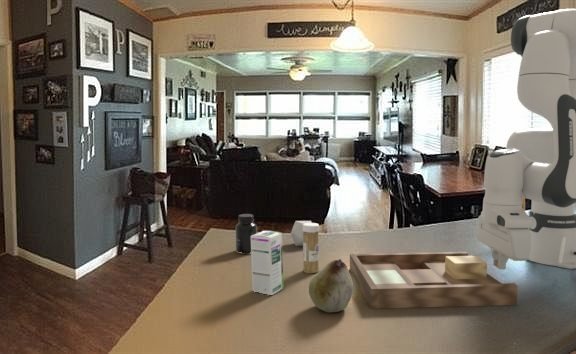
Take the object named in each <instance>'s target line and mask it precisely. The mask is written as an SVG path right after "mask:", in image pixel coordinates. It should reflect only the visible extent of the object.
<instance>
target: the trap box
mask: <svg viewBox="0 0 576 354" xmlns="http://www.w3.org/2000/svg"><path fill="white" fill-rule="evenodd" d="M446 256H469V252H467V251H443V252H442V251H440V252H439V251H438V252H433V251H432V252H429V251H428V252H392V253H391V252H390V253H388V252H387V253H386V252H385V253H384V252H383V253H382V252H381V253H350V254H349V271H350V273H351V274H352V276H353V278H354V280H355V282H356V283H357V286H358V288H359V289H360V291H361V292H362V294H363V296H364V298H365V300H366V302H367V304H368V305H369V308H370V309H375V310H376V309H407V308H409V309H411V308H439V307H440V308H442V307H443V308H444V307H449V308H450V307H481V306H482V307H484V306H486V307H487V306H490V307H491V306H517V305H518V290H519V285H518V284H516V283H513V282H512V283H511V282H510V283H509V282H505V283H503V282H500V281H499V280H497V279H496V278H495V277H494V276H492V275H490V274H488V273H487V275H486V278H485V279H454V278H452V277H451V276H450V275H449V274H448V273H446V272H445V258H446Z"/></svg>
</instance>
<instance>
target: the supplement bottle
mask: <svg viewBox="0 0 576 354" xmlns="http://www.w3.org/2000/svg"><path fill="white" fill-rule="evenodd" d="M254 221H255V219H254V215H253V214H251V213H242V214H239V215H238V223H236V225H235V252H236V251H238V252H242V253H250V252H251V235H255V234H257V233H258V225H257V224H256V223H255V222H254Z"/></svg>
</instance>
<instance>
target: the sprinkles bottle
mask: <svg viewBox="0 0 576 354" xmlns="http://www.w3.org/2000/svg"><path fill="white" fill-rule="evenodd" d="M319 232H320V225H319V223H316V222H312V223H305V224H303V246H302V265H303V269H302V271H303V272H304V273H306V274H317V273H318V272H319V271H320V268H319V260H320V256H319V255H320V254H319V253H320V248H319V247H320V245H319Z"/></svg>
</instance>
